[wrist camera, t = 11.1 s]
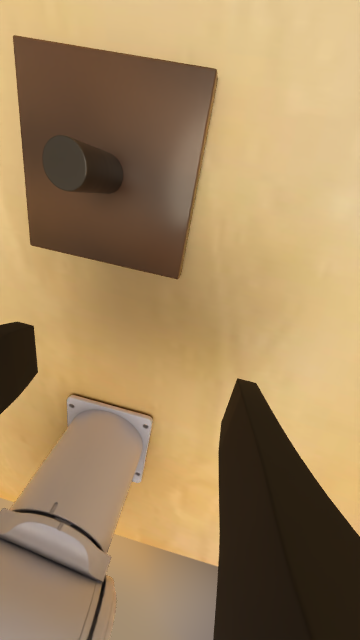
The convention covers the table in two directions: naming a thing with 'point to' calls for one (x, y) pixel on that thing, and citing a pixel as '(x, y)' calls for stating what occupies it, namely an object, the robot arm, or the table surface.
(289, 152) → the table surface
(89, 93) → the stand
